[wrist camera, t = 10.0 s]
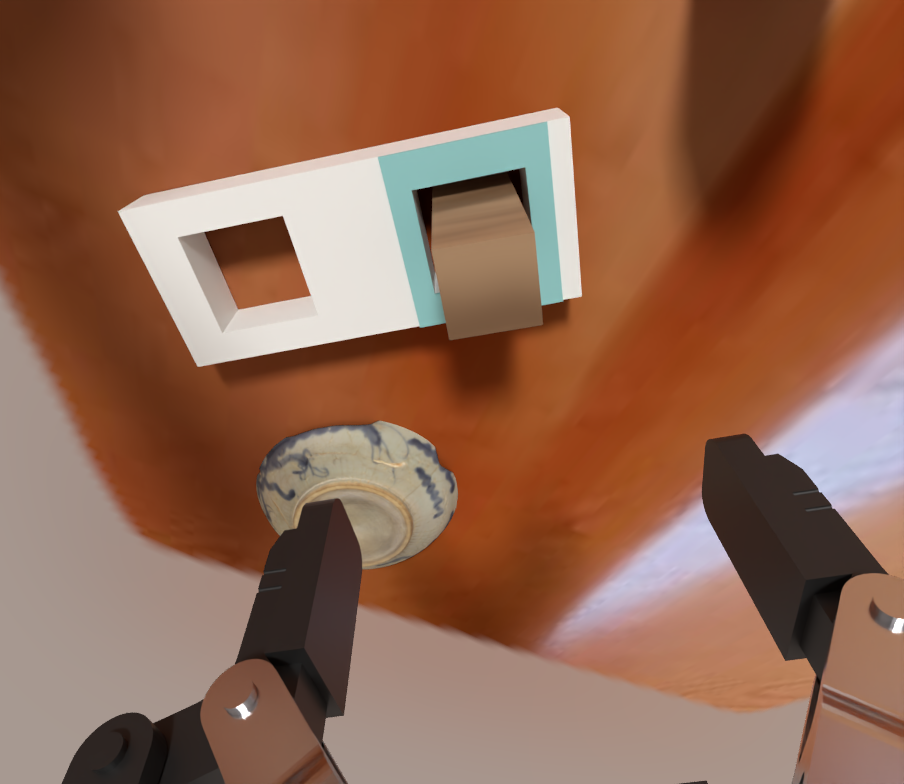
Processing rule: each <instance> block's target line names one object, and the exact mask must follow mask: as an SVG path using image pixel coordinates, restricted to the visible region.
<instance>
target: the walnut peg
mask: <svg viewBox="0 0 904 784" xmlns="http://www.w3.org/2000/svg"><path fill="white" fill-rule="evenodd" d="M431 251H432V256H433V261H434V266H435V271H436V276H437V281H438V286H439V291H440V296H441V301H442V306H443V311H444V316H445V321H446V326H447V331H448V336H449V340H455V339H461V338H467V337H473V336H479V335H485V334H491V333H497V332H503V331H509V330H515V329H521V328H527V327H533V326H540V325H543V316H542V306H541V295H540V284H539V274H538V263H537V252H536V241H535V232H534V230H533V227H532V225H531V223H530V221H529V219H528V217H527V214H526V212H525V210H524V208H523V206H522V204H521V201H520V199H519V197H518V195H517V193H516V191H515V188H514V186H513V184H512V182H511V180H510V178H509V175H508V173H507V172H505V173H499V174H494V175H489V176H483V177H478V178H472V179H467V180H462V181H456V182H451V183H446V184H441V185H436V186H432V246H431Z"/></svg>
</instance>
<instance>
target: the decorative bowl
mask: <svg viewBox="0 0 904 784" xmlns="http://www.w3.org/2000/svg"><path fill="white" fill-rule="evenodd" d="M259 469H260V473H259V474H258V475H257V481H256V487H257V495H258V499H259V502H260V505H261V507H262V510H263V512H264V514H265V515H266V517H267V519H268V521H269V522H270V524H271V525H272V527H273V528H274V530H275V531H276V532H277V533H278V534H279V535H280V536H281V534H282V533H283V532H284V530H289V529H296V528H297V526H298V522H299V518H300V515H301V511H302V508H303V506H304V504H305V503H310V502H316V501H322V500H328V499H334V498H339V499H340V500H341V502H342V503H343V506H344V508H345V510H346V513H347V515H348V518H349V520H350V522H351V525H352V527H353V530H354V532H355V534H356V537H357V539H358V542H359V545H360V549H361V554H362V569H374V568H380V567H385V566H390V565H393V564H396V563H398V562H401V561H404V560H406V559H408V558H410V557H412V556H414V555H416V554H417V553H419V552H420V551H422V550H423V549H425V548H426V547H427V546H429V545H430V544H431V543H432V542H433V541H434V540H435V539H436V538H437V537H438V536H439V535H440V534H441V532H442V531H443V530H444V529H445V528H446V526H447V525H448V523H449V522H450V520H451V518H452V516H453V514H454V511H455V508H456V505H457V498H458V490H457V483H456V479H455V476H454V474H453V472H451V471H449V470H447V469H445V468H444V467H442V466H441V465H440V464H439V461H438V457H437V452H436V448H435V446H433V445H432V444H431V443H430V442H429V441H427V440H426V439H425V438H423V437H422V436H420V435H418V434H416V433H414V432H412V431H410V430H408V429H406V428H403V427H400V426H398V425H394V424H391V423H387V422H383V421H377V422H374V423H372V424H369V425H346V426H345V425H336V426H329V427H324V428H317V429H313V430H310V431H307V432H304V433H301V434H298V435H295V436H291V437H286V438H285V439H283V440H282V441H280V442H279V443H278V444H277V445H275V446H274V447H273V448H272V449H271V451H270V452H269V453H268V454H267V455H266V457H265V459H264V460H263V462H262V464H261V466H260V468H259Z"/></svg>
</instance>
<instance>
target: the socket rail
mask: <svg viewBox="0 0 904 784" xmlns="http://www.w3.org/2000/svg"><path fill="white" fill-rule="evenodd" d="M515 169H519V173H520V181H521V190H522V198H523V206H524V210H525V212H526V214H527V217H528V219H529V221H530V223H531V225H532V227H533V230H534V232H535V241H536V252H537V263H538V274H539V284H540V295H541V305H547V304H552V303H558V302H563V300H565V299H571V298H576V297H581V296H582V292H581V277H580V263H579V248H578V233H577V219H576V204H575V189H574V174H573V160H572V145H571V130H570V116H568V115H567V114H565V113H564V112H563V111H561V110H560V109H559V108H554V109H549V110H544V111H539V112H535V113H530V114H525V115H521V116H516V117H511V118H506V119H502V120H497V121H492V122H488V123H483V124H478V125H473V126H469V127H464V128H459V129H455V130H450V131H445V132H440V133H436V134H431V135H426V136H421V137H417V138H412V139H407V140H403V141H398V142H393V143H388V144H384V145H379V146H374V147H370V148H365V149H360V150H355V151H351V152H346V153H341V154H337V155H332V156H327V157H322V158H318V159H313V160H308V161H303V162H299V163H294V164H289V165H285V166H280V167H275V168H270V169H266V170H261V171H256V172H252V173H247V174H242V175H237V176H233V177H228V178H223V179H219V180H214V181H209V182H204V183H200V184H195V185H190V186H185V187H181V188H176V189H171V190H167V191H162V192H157V193H152V194H148V195H144V196H142V197H140V198H139V199H137V200H136V201H134V202H132V203H131V204H129V205H127V206H126V207H124V208H123V209H121V210H119V211H118V213H119V215H120V217H121V219H122V221H123V223H124V225H125V226H126V228H127V230H128V232H129V234H130V236H131V238H132V240H133V242H134V244H135V246H136V248H137V250H138V252H139V254H140V256H141V258H142V260H143V261H144V263H145V265H146V267H147V269H148V271H149V273H150V275H151V277H152V279H153V281H154V283H155V285H156V287H157V289H158V291H159V293H160V294H161V296H162V298H163V300H164V302H165V304H166V306H167V308H168V310H169V312H170V314H171V316H172V318H173V320H174V322H175V324H176V326H177V327H178V329H179V331H180V333H181V335H182V337H183V339H184V341H185V343H186V345H187V347H188V349H189V351H190V353H191V355H192V357H193V359H194V360H195V362H196V364H197V366H198V367H200V366H205V365H211V364H216V363H222V362H227V361H233V360H238V359H244V358H249V357H254V356H260V355H265V354H271V353H276V352H282V351H287V350H293V349H298V348H304V347H309V346H314V345H320V344H325V343H331V342H336V341H342V340H347V339H353V338H358V337H363V336H369V335H374V334H380V333H385V332H391V331H396V330H402V329H407V328H412V327H418V326H420V328H421V327H427V326H432V325H438V324H443V323H446V321H445V316H444V311H443V306H442V301H441V296H440V291H439V286H438V281H437V276H436V272H435V270H434V266H433V261H432V256H431V252H430V247H429V243H428V238H427V234H426V229H425V224H424V220H423V215H422V211H421V206H420V201H419V197H418V192H417V189H422V188H427V187H431V186H436V185H441V184H446V183H451V182H456V181H461V180H466V179H471V178H476V177H480V176H485V175H490V174H495V173H500V172H505V171H510V170H515ZM279 216H283V218H284V220H285V223H286V226H287V229H288V232H289V235H290V237H291V240H292V243H293V246H294V249H295V251H296V254H297V257H298V260H299V263H300V265H301V268H302V271H303V274H304V277H305V280H306V282H307V285H308V288H309V291H310V294H311V296H308V297H303V298H298V299H292V300H287V301H282V302H277V303H271V304H266V305H261V306H256V307H251V308H245V309H240V310H238V308H237V306H236V304H235V301H234V299H233V297H232V295H231V292H230V290H229V288H228V285H227V283H226V281H225V279H224V276H223V274H222V272H221V270H220V267H219V265H218V263H217V260H216V258H215V256H214V254H213V251H212V249H211V247H210V245H209V242H208V240H207V238H206V235H205V233H204V232H206V231H211V230H216V229H221V228H226V227H231V226H235V225H240V224H245V223H250V222H255V221H260V220H265V219H270V218H275V217H279Z"/></svg>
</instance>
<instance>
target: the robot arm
mask: <svg viewBox="0 0 904 784" xmlns="http://www.w3.org/2000/svg"><path fill="white" fill-rule="evenodd" d="M702 499H703V504H704V508H705V512H706V514H707V517H708V519H709V521H710V523H711V525H712V527H713V529H714V530H715V532H716V534H717V536H718V538H719V540H720V541H721V543H722V545H723V547H724V549H725V551H726V552H727V554H728V556H729V558H730V560H731V562H732V563H733V565H734V567H735V569H736V571H737V573H738V574H739V576H740V578H741V580H742V582H743V584H744V585H745V587H746V589H747V591H748V593H749V595H750V597H751V598H752V600H753V602H754V604H755V606H756V608H757V609H758V611H759V613H760V615H761V617H762V619H763V620H764V622H765V624H766V626H767V628H768V630H769V631H770V633H771V635H772V637H773V639H774V641H775V642H776V644H777V646H778V648H779V650H780V652H781V653H782V655H783V657H784V659H785V661H787V660H795V659H803V658H807V659H808V661H809V663H810V665H811V666H812V668H813V670H814V671H815V673H816V675H815V678H814V682H813V686H812V691H811V696H810V701H809V706H808V710H807V715H806V720H805V725H804V729H803V734H802V739H801V743H800V749H799V753H798V758H797V763H796V767H795V772H794V776H793V780H792V784H904V579H901V578H898V577H895V576H891V575H889V574H888V573H887V572H886V571H885V570H884V569H883V568H882V567H881V565H880V564H879V563H878V562H877V560H876V559H875V558H874V557H873V556H872V554H871V553H870V552H869V551H868V549H867V548H866V547H865V546H864V544H863V543H862V542H861V541H860V539H859V538H858V537H857V536H856V535H855V533H854V532H853V531H852V530H851V528H850V527H849V526H848V525H847V523H846V522H845V521H844V520H843V518H842V517H841V516H840V515H839V514H838V512H837V511H836V510H835V509H832V507H831V504H830V502H829V501H828V500H827V499H826V497H825V496H824V495H823V494H822V493H819V491H818V488H817V486H816V485H815V484H814V483H813V481H812V480H811V479H810V478H809V477H808V475H807V474H806V473H805V472H804V470H803V469H802V468H800V467H798V466H797V465H795V464H794V463H792V462H791V461H789V460H787V459H786V458H784V457H783V456H781V455H779V454H774V455H767V456H764V454H763V453H762V452H761V450H760V449H759V448H758V446H757V445H756V444H755V442H754V441H753V440H752V438H751V437H750V436H749V435H747V434H739V435H733V436H727V437H721V438H715V439H709V440H708V441H707V442H706V446H705V457H704V470H703V482H702ZM361 575H362V554H361V549H360V545H359V542H358V539H357V537H356V534H355V532H354V530H353V527H352V525H351V522H350V520H349V518H348V515H347V513H346V510H345V508H344V506H343V503H342V502H341V500H340V499H339V498H334V499H328V500H322V501H316V502H310V503H305V504H304V506H303V508H302V511H301V515H300V518H299V522H298V526H297V528H296V529H289V530H284V532H283V533H282V534H281V536H280V537H279V538H278V540H277V541H276V543H275V544H274V545H273V547H272V548H271V549H270V552H269V555H268V558H267V561H266V565H265V568H264V575H262V578H261V581H260V585H259V588H258V589H259V593H257V594H256V598H255V602H254V604H253V608H252V611H251V615H250V618H249V621H248V624H247V628H246V631H245V634H244V637H243V641H242V644H241V647H240V651H239V654H238V658H237V660H236V662H235V665H233V666H232V667H230V668H228V669H227V670H226V671H225V672H224V673H222V674H221V675H220V676H219V677H218V678H217V679H216V680H215V681H214V683H213V684H212V685H211V686H210V688H209V690H208V691H207V693H206V695H205V698H204V699H203V700H201V701H200V702H198V703H196V704H194V705H192V706H190V707H188V708H186V709H183V710H181V711H179V712H177V713H175V714H173V715H170V716H168V717H166V718H164V719H162V720H160V721H158V722H155V723H152V722H151V721H150V720H149V719H148V718H147V717H146V716H144V715H142V714H139V713H126V714H122V715H119V716H116V717H114V718H112V719H110V720H109V721H107V722H105V723H104V724H102V725H101V726H100V727H98V728H97V729H96V730H95V731H94V732H93V733H92V734H91V735H90V736H89V737H88V738H87V739H86V740H85V741H84V743H83V744H82V745H81V746H80V748H79V749H78V751H77V752H76V754H75V755H74V757H73V760H72V761H71V763H70V766H69V768H68V770H67V773H66V775H65V777H64V780H63V782H62V784H348V783H347V781H346V779H345V777H344V776H343V774H342V772H341V771H340V769H339V767H338V766H337V764H336V762H335V760H334V759H333V757H332V755H331V754H330V752H329V750H328V748H327V747H326V745H325V743H324V742H323V740H322V739H323V733H324V726H325V719H326V718H328V717H335V716H343V715H344V710H345V701H346V693H347V686H348V678H349V670H350V662H351V654H352V646H353V638H354V631H355V623H356V614H357V607H358V599H359V591H360V583H361ZM681 784H708V783H707V781H699V782H690V783H681Z"/></svg>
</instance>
